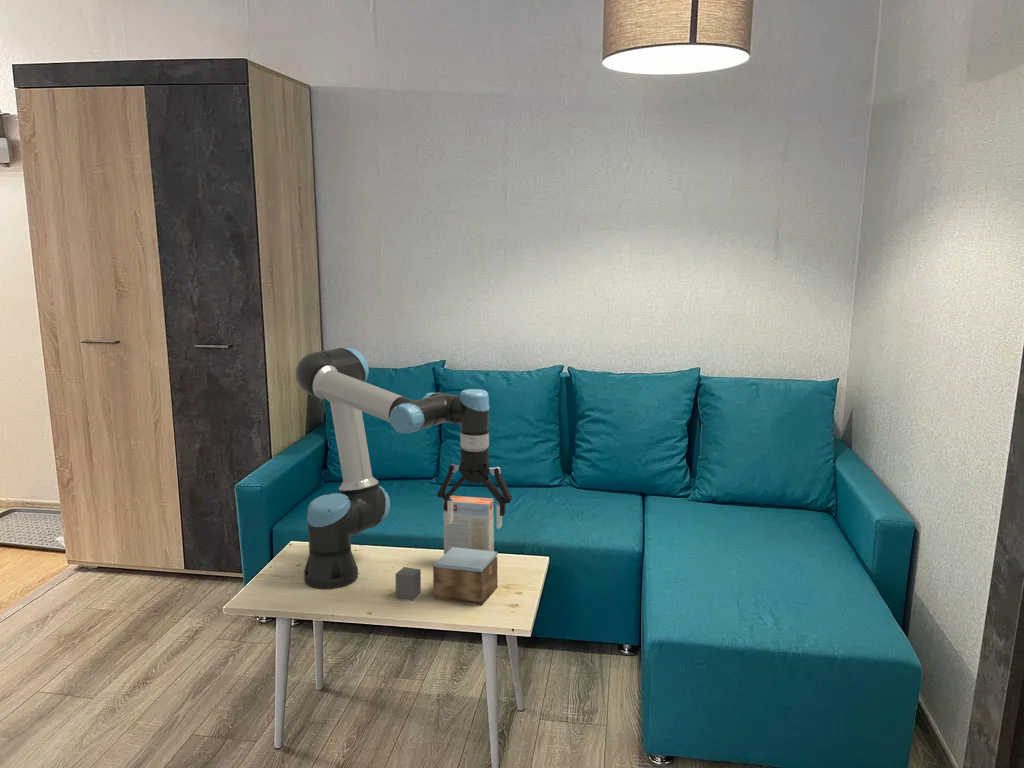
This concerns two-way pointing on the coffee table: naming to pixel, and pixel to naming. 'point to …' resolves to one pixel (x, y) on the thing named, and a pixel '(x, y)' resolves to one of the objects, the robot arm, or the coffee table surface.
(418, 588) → the block
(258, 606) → the coffee table surface
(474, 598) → the keepsake box
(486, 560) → the lid
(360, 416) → the robot arm
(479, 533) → the cracker box
